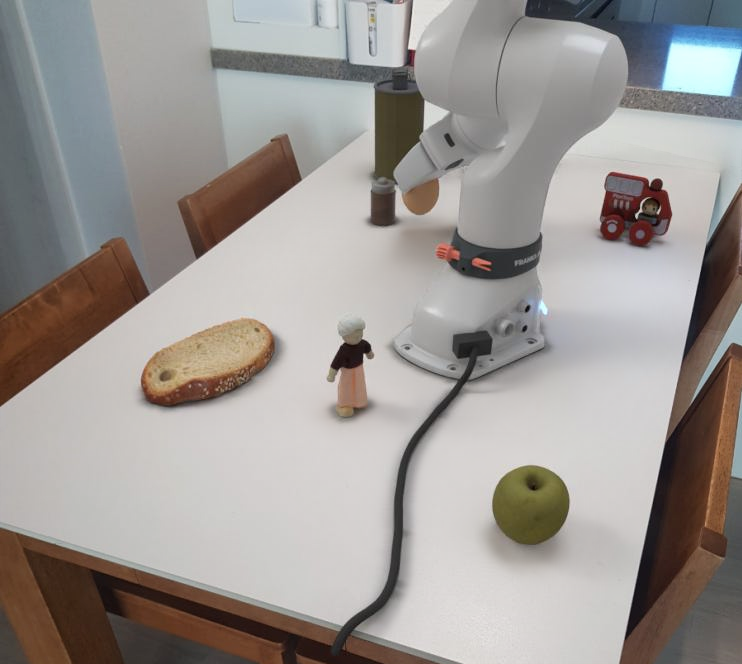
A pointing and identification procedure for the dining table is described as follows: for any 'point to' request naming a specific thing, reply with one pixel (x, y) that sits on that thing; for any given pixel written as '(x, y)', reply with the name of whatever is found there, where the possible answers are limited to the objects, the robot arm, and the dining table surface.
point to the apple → (530, 504)
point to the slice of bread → (208, 362)
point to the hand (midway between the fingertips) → (417, 183)
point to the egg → (422, 197)
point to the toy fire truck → (634, 208)
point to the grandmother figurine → (350, 366)
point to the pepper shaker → (383, 202)
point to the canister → (396, 121)
